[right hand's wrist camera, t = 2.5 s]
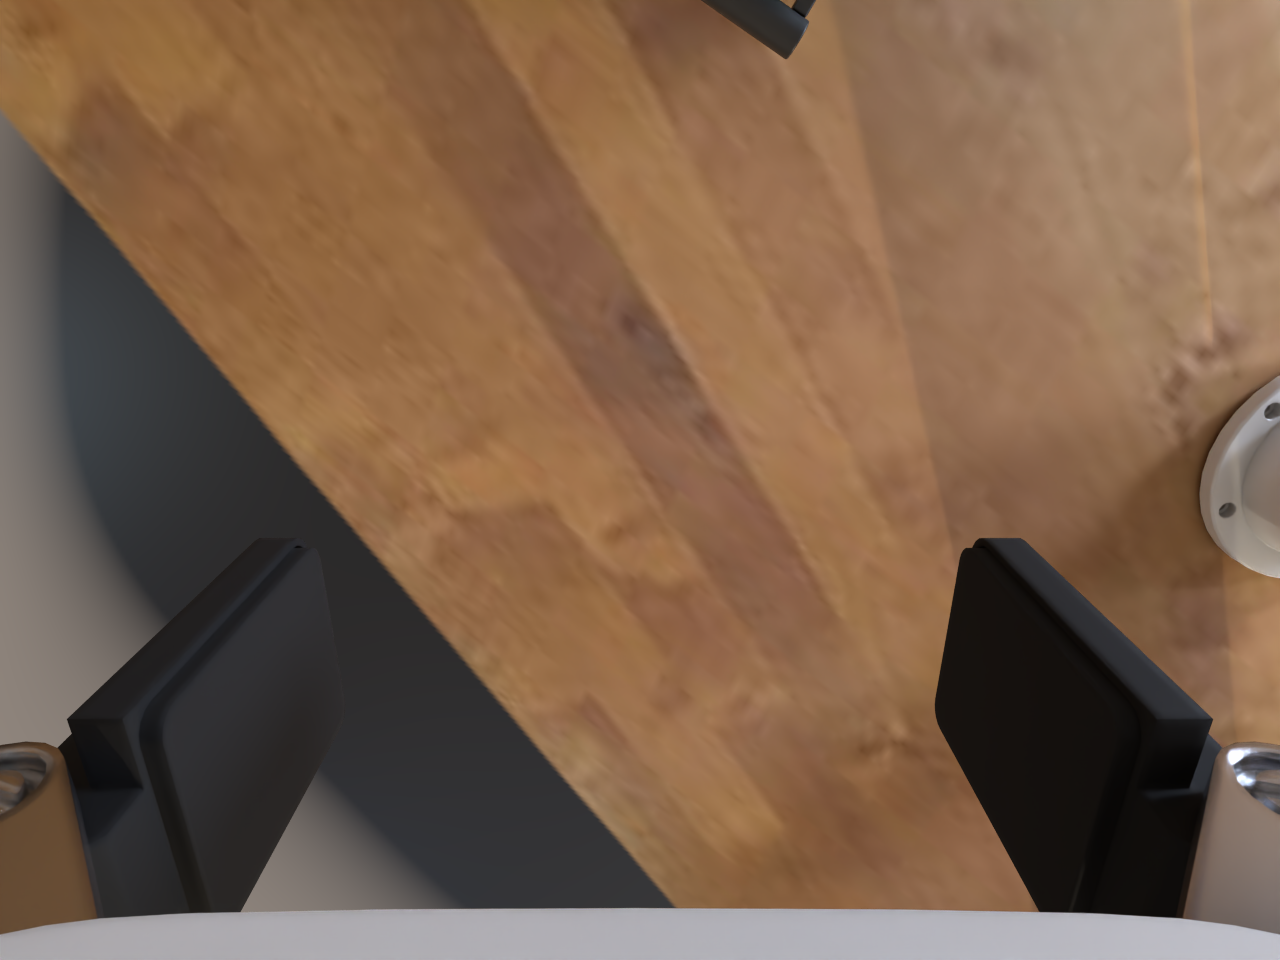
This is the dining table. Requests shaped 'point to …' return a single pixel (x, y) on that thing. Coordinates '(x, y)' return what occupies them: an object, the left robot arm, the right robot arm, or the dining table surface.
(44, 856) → the right robot arm
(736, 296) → the dining table surface
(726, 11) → the drawer
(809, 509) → the dining table surface
